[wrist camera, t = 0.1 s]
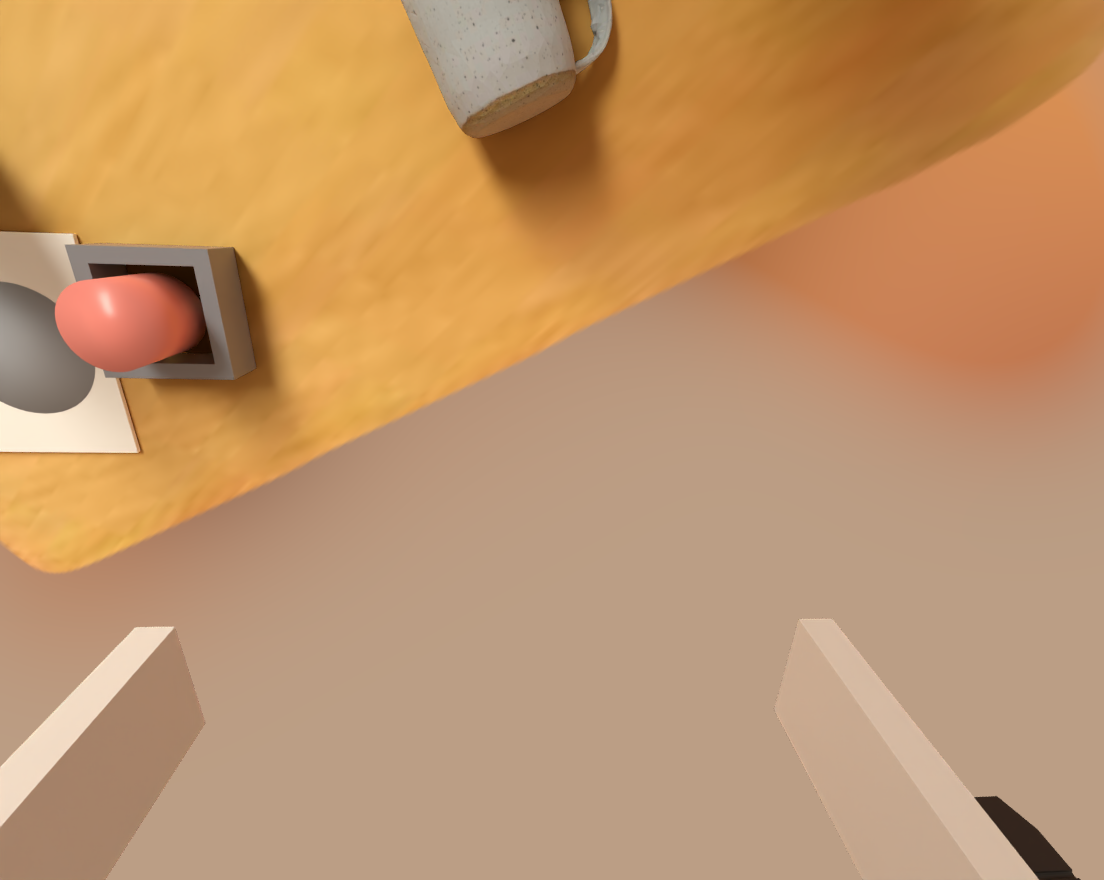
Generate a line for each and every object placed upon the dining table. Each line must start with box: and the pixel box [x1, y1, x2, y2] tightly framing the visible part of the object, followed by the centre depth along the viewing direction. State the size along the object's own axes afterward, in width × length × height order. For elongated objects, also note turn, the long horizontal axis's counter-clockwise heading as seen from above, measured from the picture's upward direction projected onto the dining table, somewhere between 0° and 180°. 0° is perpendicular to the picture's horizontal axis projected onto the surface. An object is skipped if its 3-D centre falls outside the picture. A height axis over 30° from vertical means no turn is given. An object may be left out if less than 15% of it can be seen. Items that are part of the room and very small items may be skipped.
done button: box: [55, 272, 206, 372], centre depth 30 cm, size 5×5×5 cm
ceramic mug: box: [401, 0, 612, 138], centre depth 26 cm, size 11×8×8 cm
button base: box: [65, 243, 256, 380], centre depth 33 cm, size 8×8×3 cm
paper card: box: [0, 231, 141, 453], centre depth 35 cm, size 15×11×1 cm
